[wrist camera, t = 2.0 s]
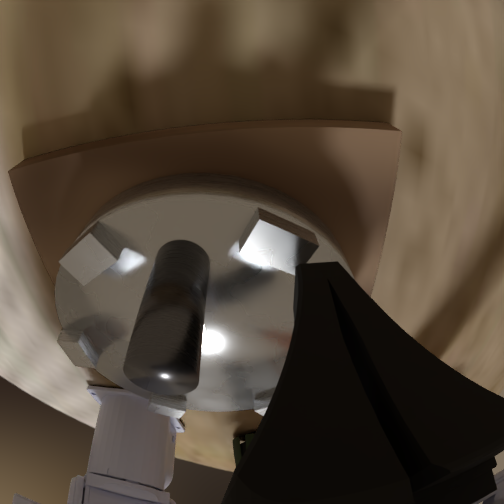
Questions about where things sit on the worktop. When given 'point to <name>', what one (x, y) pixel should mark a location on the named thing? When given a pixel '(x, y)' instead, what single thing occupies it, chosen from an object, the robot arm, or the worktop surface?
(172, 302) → the grey disc with blocks
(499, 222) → the worktop surface
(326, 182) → the base board
